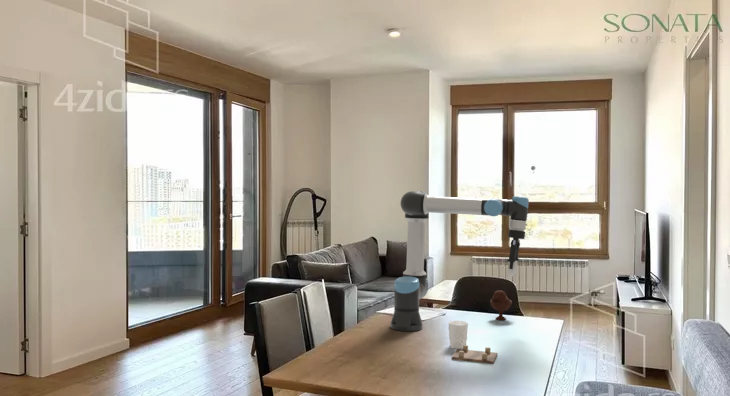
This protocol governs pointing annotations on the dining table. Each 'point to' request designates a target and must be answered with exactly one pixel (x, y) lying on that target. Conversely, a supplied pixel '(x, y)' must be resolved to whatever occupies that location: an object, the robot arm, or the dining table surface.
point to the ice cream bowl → (500, 303)
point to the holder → (474, 355)
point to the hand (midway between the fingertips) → (511, 275)
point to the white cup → (458, 334)
